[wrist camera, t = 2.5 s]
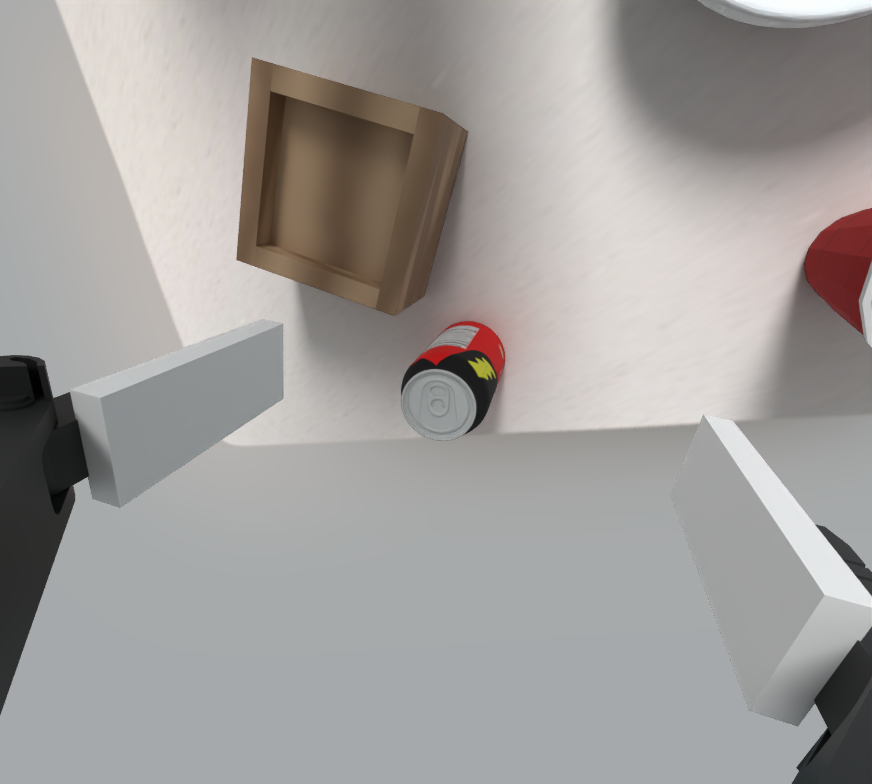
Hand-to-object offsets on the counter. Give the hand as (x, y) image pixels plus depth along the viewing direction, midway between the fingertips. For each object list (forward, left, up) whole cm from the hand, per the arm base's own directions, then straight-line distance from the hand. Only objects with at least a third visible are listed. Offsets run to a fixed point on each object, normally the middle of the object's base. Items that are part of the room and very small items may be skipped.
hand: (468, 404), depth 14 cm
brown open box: (-15, +2, -26) cm, 30 cm away
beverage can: (-3, -8, -26) cm, 27 cm away
